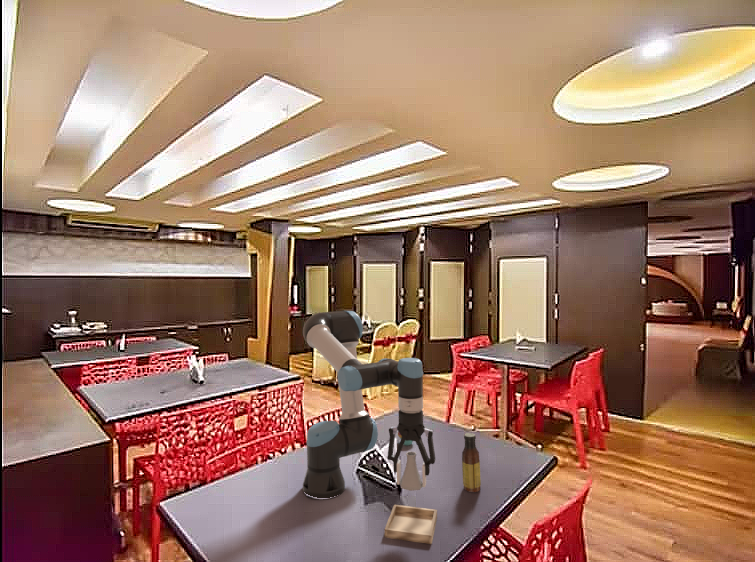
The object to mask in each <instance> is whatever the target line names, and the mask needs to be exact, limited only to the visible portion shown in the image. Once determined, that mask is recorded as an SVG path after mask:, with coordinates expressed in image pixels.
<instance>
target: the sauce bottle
mask: <svg viewBox="0 0 755 562" xmlns="http://www.w3.org/2000/svg"><path fill="white" fill-rule="evenodd" d="M476 437H477V436H476V434H475V433H472V432H466V433H464V435H463V438H464V448H463V450H462V452H461V453H462V454H461V460H462V461H461V462H462V464H461V465H462V466H461V469H462V485H463V489H464V490H465V491H466V492H468V493H478V492H480V490H481V485H482V484H481V483H482V482H481V481H482V480H481V466H480V465H481V463H480V462H481V461H480V452H479V450H478V447H477V446H476Z"/></svg>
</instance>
